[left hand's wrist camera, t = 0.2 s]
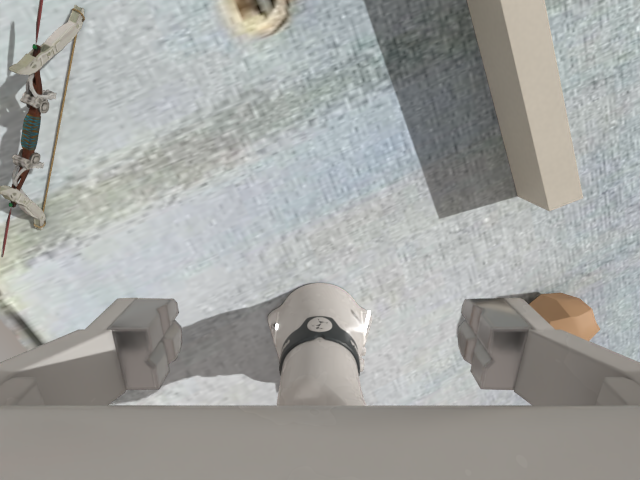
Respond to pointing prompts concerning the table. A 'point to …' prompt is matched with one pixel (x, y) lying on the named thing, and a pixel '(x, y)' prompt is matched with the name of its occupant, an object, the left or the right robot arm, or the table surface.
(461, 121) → the table surface
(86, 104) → the table surface
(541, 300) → the squash
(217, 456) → the left robot arm
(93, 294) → the table surface
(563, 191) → the beam
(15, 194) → the bow
